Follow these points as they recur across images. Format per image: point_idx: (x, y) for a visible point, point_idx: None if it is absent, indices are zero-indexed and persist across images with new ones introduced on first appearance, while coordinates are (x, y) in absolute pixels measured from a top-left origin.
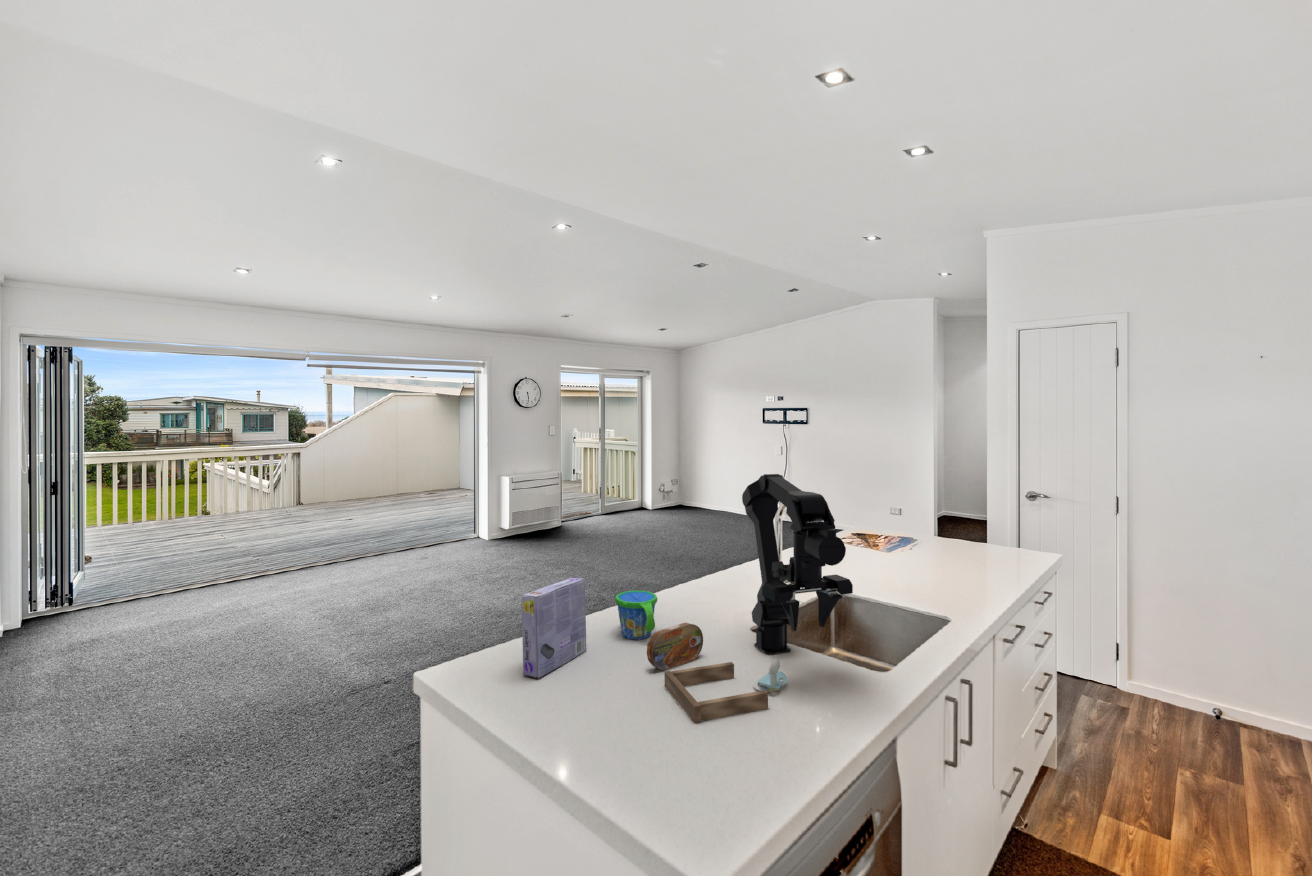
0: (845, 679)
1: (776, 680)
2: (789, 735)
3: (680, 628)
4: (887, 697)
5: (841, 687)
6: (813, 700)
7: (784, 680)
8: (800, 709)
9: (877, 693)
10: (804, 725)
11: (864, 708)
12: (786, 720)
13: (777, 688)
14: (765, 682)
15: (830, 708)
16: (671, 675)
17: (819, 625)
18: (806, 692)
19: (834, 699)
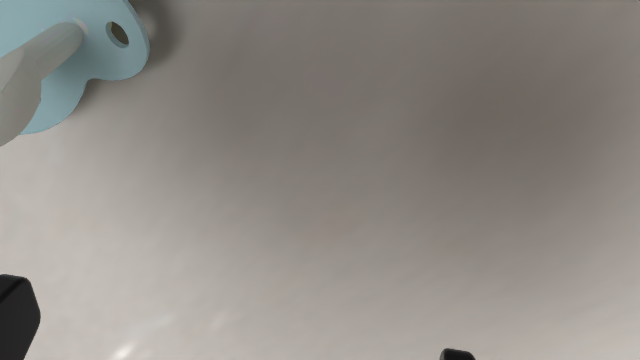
0: (579, 138)
1: (64, 61)
2: None
3: None
4: (572, 350)
5: (460, 196)
6: (221, 223)
7: (130, 59)
8: (122, 249)
9: (570, 312)
10: (86, 323)
11: (387, 353)
12: (32, 277)
13: (47, 125)
14: (11, 4)
15: (252, 297)
16: None
17: (444, 354)
18: (234, 153)
19: (323, 259)
